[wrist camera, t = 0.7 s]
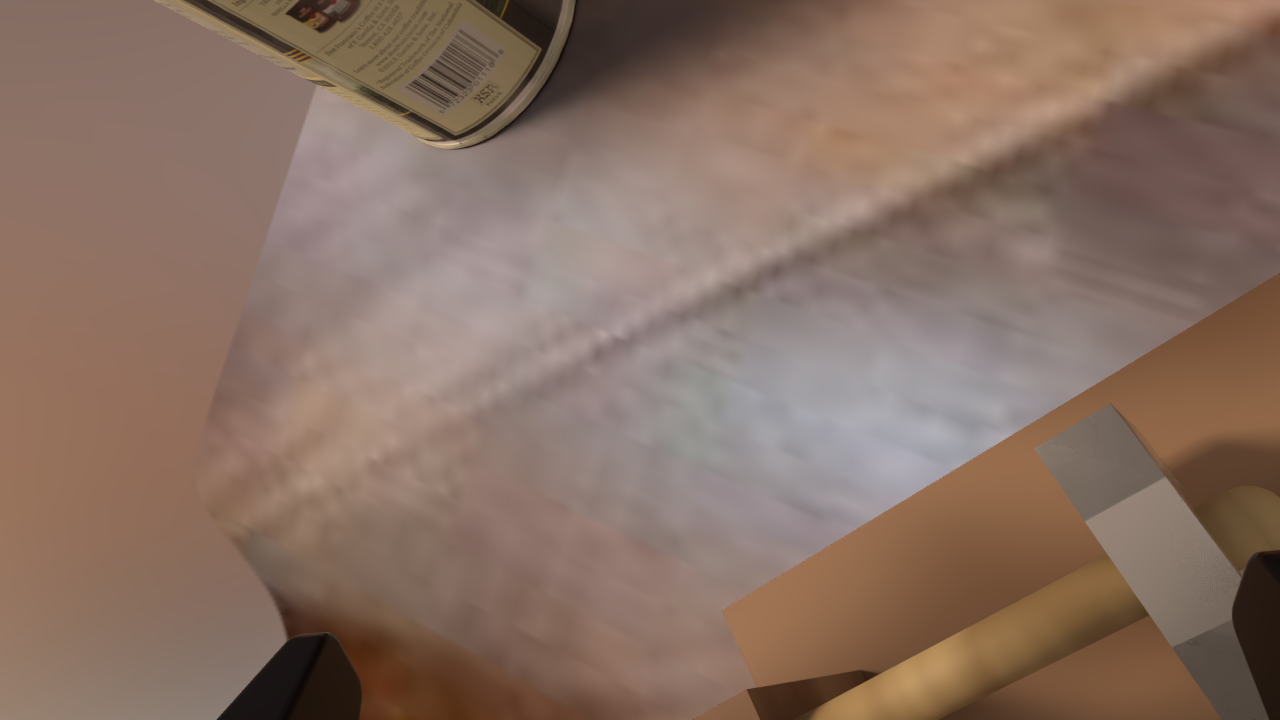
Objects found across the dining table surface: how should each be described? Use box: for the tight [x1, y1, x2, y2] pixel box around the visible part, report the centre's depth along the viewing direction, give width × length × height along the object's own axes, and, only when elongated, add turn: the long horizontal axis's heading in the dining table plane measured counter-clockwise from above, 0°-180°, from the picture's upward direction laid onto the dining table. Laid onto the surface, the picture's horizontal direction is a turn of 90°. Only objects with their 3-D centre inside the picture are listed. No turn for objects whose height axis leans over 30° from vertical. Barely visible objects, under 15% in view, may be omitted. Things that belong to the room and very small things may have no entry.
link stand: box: [693, 273, 1280, 720], centre depth 19 cm, size 9×16×7 cm, turn 117°
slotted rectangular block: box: [1034, 403, 1269, 720], centre depth 17 cm, size 5×1×6 cm, turn 26°
